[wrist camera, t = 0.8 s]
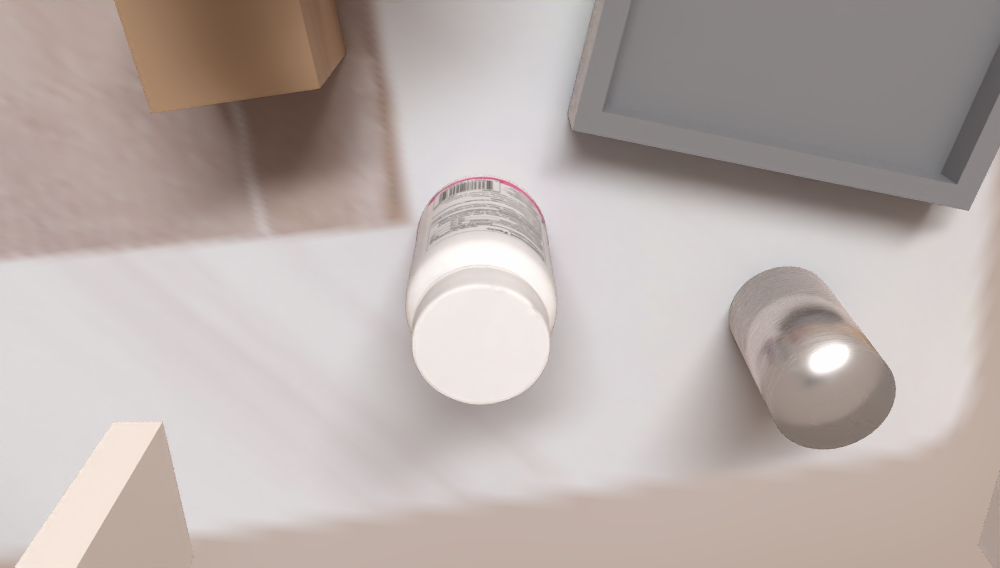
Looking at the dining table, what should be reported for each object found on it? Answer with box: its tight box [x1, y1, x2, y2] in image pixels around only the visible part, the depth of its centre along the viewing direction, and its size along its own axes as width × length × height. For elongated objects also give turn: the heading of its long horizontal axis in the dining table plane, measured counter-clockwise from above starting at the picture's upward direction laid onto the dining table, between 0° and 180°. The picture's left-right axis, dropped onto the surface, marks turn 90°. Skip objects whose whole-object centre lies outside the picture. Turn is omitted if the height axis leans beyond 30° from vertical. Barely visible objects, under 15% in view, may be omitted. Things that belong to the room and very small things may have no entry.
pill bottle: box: [405, 175, 557, 405], centre depth 28 cm, size 5×5×8 cm
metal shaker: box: [729, 267, 896, 449], centre depth 31 cm, size 4×4×6 cm
